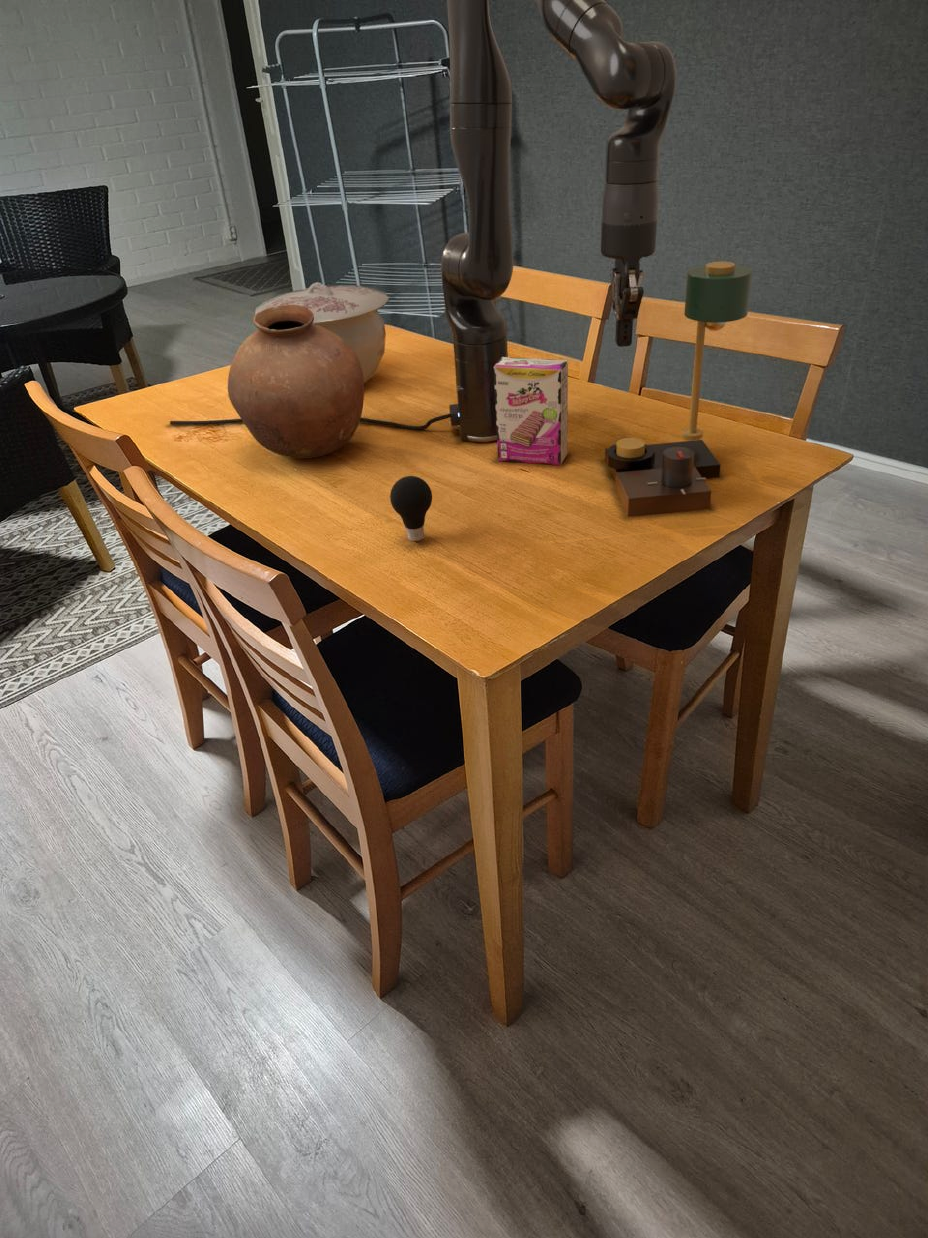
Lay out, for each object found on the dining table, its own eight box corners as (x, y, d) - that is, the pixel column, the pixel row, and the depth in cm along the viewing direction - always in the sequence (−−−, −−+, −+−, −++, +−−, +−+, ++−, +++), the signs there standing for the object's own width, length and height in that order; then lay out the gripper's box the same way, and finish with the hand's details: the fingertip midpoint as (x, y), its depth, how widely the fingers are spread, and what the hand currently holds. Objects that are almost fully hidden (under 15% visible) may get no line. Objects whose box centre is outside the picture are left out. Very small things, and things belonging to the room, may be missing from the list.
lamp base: (611, 487, 132) (612, 463, 129) (599, 461, 140) (600, 438, 138) (719, 477, 132) (721, 453, 130) (700, 452, 140) (702, 429, 138)
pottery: (307, 419, 166) (282, 285, 152) (398, 439, 154) (381, 296, 140) (218, 463, 151) (181, 320, 137) (311, 489, 139) (282, 335, 125)
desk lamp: (684, 448, 132) (698, 274, 117) (669, 427, 139) (680, 260, 125) (741, 443, 132) (762, 268, 117) (723, 422, 139) (741, 254, 125)
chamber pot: (392, 401, 171) (379, 294, 159) (258, 409, 172) (235, 304, 161) (402, 357, 194) (391, 261, 182) (284, 365, 195) (266, 270, 184)
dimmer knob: (658, 475, 127) (660, 445, 124) (688, 473, 127) (690, 443, 124) (664, 488, 123) (666, 458, 121) (694, 486, 123) (697, 456, 120)
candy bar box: (496, 462, 143) (491, 365, 133) (505, 450, 146) (501, 355, 137) (561, 467, 139) (561, 368, 130) (568, 454, 143) (568, 358, 134)
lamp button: (619, 460, 131) (619, 449, 130) (613, 449, 135) (613, 438, 134) (647, 457, 131) (648, 447, 130) (641, 446, 135) (641, 436, 134)
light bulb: (395, 533, 124) (387, 471, 119) (435, 529, 125) (429, 467, 119) (396, 553, 120) (387, 489, 114) (437, 549, 120) (431, 484, 114)
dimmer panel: (628, 517, 123) (629, 498, 121) (615, 490, 131) (615, 471, 129) (712, 510, 123) (714, 490, 122) (694, 482, 131) (696, 464, 129)
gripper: (667, 223, 111) (657, 356, 120) (647, 208, 122) (639, 331, 131) (610, 227, 111) (605, 359, 120) (594, 211, 122) (591, 334, 131)
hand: (623, 344), depth 126 cm, fingers closed
